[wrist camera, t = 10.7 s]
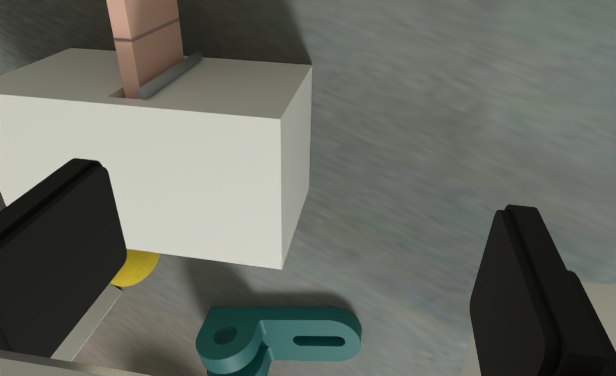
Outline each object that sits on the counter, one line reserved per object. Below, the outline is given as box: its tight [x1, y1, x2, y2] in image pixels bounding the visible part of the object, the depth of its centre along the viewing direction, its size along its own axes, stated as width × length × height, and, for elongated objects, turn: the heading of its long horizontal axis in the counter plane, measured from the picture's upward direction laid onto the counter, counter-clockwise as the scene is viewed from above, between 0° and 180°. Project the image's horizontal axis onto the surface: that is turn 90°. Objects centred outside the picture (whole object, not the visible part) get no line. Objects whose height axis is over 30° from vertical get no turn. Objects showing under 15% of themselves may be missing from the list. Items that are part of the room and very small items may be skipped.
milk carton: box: [51, 283, 122, 362], centre depth 49 cm, size 7×7×19 cm
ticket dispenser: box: [0, 48, 312, 270], centre depth 37 cm, size 13×22×12 cm, turn 89°
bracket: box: [196, 307, 362, 376], centre depth 51 cm, size 18×7×8 cm, turn 101°
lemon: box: [110, 249, 160, 287], centre depth 47 cm, size 6×6×8 cm
